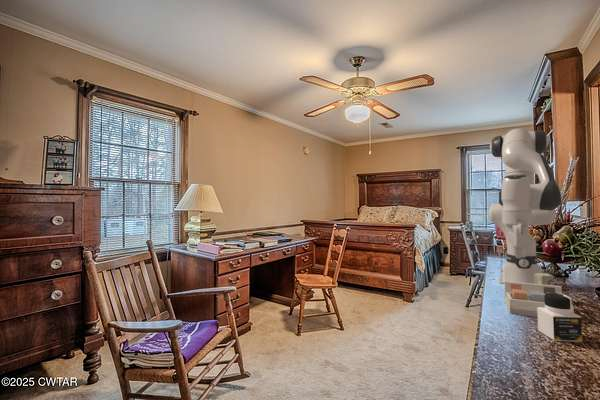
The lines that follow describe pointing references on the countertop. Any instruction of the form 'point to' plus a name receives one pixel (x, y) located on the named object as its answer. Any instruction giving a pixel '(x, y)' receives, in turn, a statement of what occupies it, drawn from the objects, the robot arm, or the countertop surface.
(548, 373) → the countertop surface
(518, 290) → the terracotta key
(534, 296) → the slate key
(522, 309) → the cream open box
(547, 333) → the medicine bottle
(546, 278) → the skincare box
